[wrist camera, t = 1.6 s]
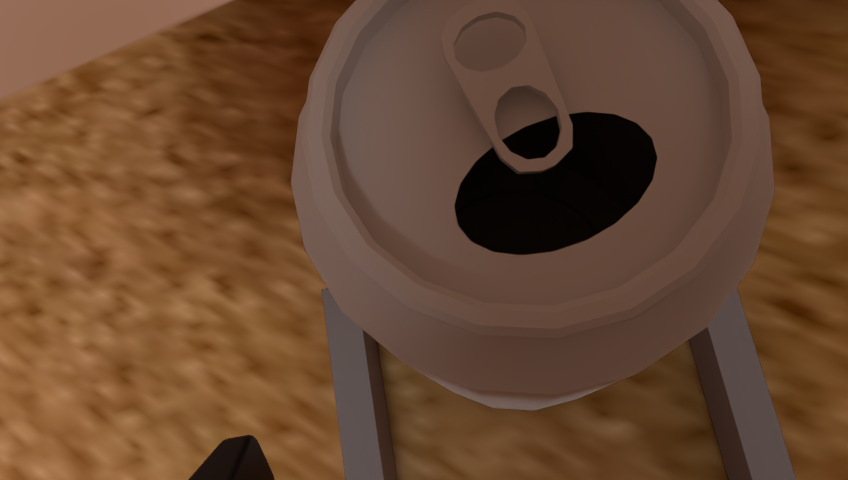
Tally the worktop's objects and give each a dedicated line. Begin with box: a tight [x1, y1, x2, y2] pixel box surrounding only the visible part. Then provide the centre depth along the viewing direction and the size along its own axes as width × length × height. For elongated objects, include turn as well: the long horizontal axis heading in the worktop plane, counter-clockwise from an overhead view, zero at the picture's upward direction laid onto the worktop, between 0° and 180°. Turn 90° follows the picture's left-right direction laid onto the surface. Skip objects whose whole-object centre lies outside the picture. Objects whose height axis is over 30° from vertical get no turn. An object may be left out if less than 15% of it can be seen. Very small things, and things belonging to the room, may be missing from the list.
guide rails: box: [322, 287, 796, 480], centre depth 18 cm, size 11×11×2 cm
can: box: [291, 0, 775, 410], centre depth 15 cm, size 8×8×12 cm
